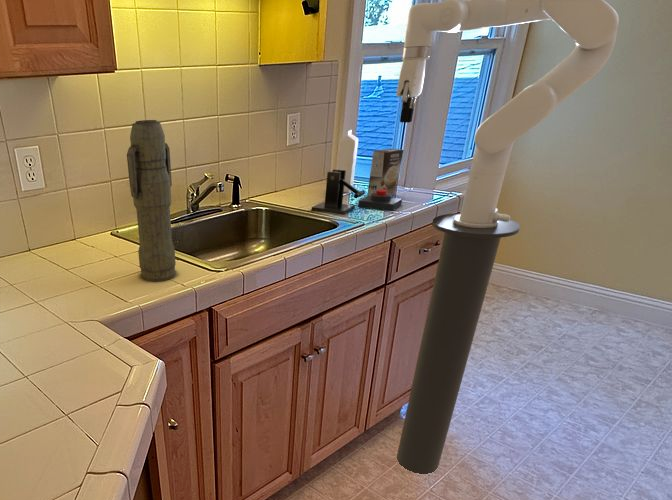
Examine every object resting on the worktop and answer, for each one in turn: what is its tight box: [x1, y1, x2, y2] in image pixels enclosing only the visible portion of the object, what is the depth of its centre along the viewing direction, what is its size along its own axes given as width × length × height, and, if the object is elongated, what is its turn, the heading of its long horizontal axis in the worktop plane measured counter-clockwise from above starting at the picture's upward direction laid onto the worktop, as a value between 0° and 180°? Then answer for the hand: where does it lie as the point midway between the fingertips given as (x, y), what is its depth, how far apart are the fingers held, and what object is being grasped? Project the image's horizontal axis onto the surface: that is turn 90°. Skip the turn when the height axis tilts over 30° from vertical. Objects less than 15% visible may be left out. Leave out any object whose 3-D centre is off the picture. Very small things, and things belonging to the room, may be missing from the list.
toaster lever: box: [334, 171, 366, 199], centre depth 167 cm, size 12×6×2 cm
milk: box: [335, 129, 360, 193], centre depth 193 cm, size 6×6×22 cm
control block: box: [357, 193, 403, 212], centre depth 174 cm, size 12×9×4 cm
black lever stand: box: [311, 168, 356, 215], centre depth 171 cm, size 12×9×13 cm
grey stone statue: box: [126, 119, 177, 282], centre depth 116 cm, size 9×12×35 cm
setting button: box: [376, 189, 387, 196], centre depth 173 cm, size 4×4×2 cm
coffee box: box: [366, 148, 404, 197], centre depth 185 cm, size 9×6×16 cm
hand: (405, 122), depth 158 cm, fingers closed
